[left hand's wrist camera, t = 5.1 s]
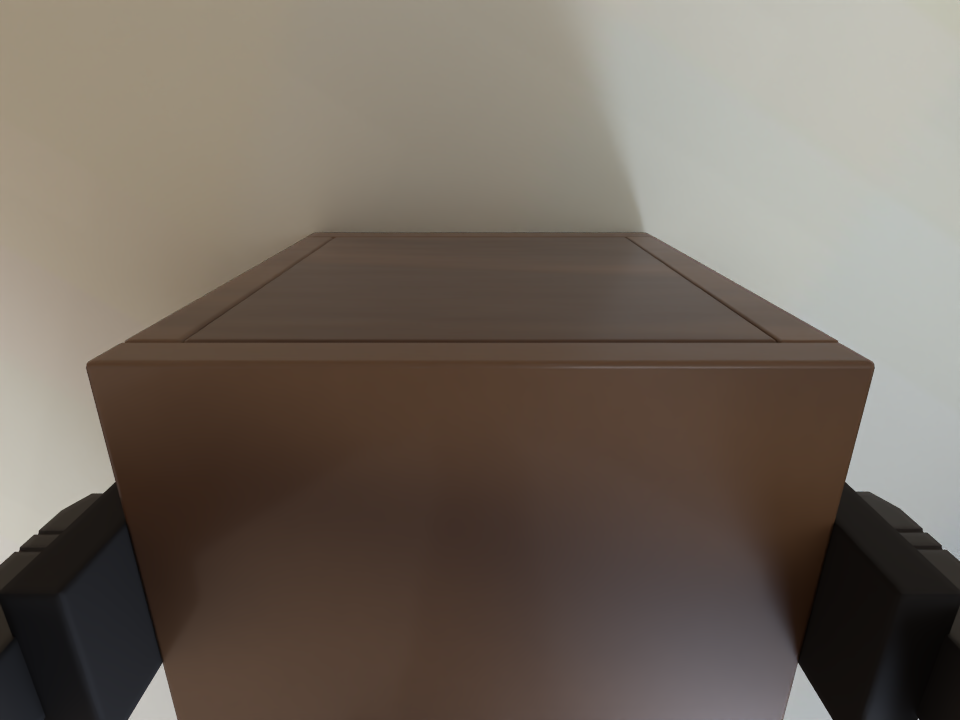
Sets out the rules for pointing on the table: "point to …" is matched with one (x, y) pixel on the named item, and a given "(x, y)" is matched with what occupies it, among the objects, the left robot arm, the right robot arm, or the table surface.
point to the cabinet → (480, 482)
